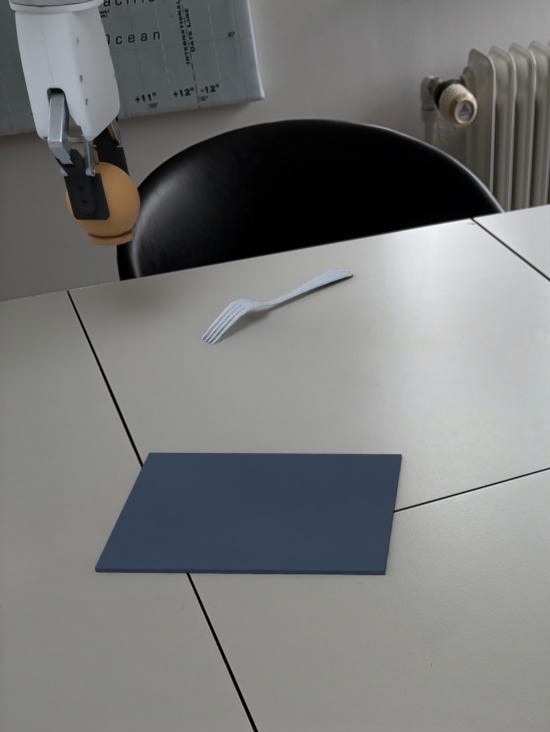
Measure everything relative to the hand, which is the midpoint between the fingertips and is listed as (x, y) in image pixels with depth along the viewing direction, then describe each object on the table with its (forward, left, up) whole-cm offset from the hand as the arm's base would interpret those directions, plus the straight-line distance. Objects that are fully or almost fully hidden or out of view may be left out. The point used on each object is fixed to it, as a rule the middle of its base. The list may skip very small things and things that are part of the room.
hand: (104, 202), depth 98 cm
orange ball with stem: (0, 0, -3) cm, 3 cm away
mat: (+18, -31, -13) cm, 38 cm away
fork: (+14, +7, -14) cm, 21 cm away
